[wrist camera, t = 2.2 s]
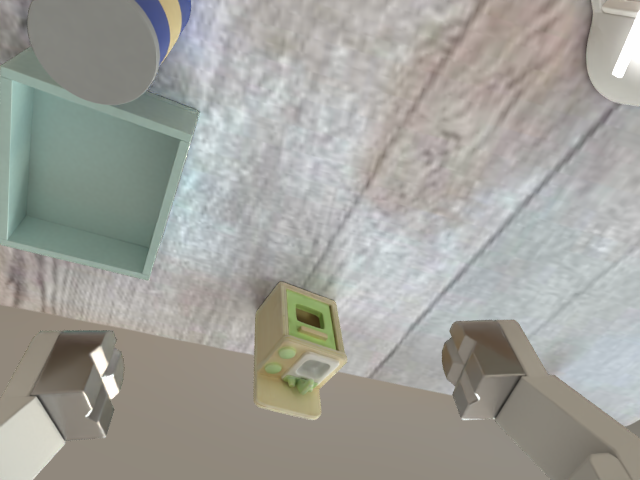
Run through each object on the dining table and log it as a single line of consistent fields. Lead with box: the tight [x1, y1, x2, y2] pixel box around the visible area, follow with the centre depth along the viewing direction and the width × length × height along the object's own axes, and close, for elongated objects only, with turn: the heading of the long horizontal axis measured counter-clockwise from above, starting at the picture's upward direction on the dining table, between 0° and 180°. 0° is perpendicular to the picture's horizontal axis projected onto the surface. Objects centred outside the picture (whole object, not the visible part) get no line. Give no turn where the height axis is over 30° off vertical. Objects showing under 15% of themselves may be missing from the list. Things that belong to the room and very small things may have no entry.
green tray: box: [0, 47, 200, 280], centre depth 39 cm, size 18×14×5 cm
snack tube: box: [27, 0, 191, 105], centre depth 28 cm, size 6×6×13 cm
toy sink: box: [254, 282, 347, 420], centre depth 51 cm, size 8×7×13 cm
